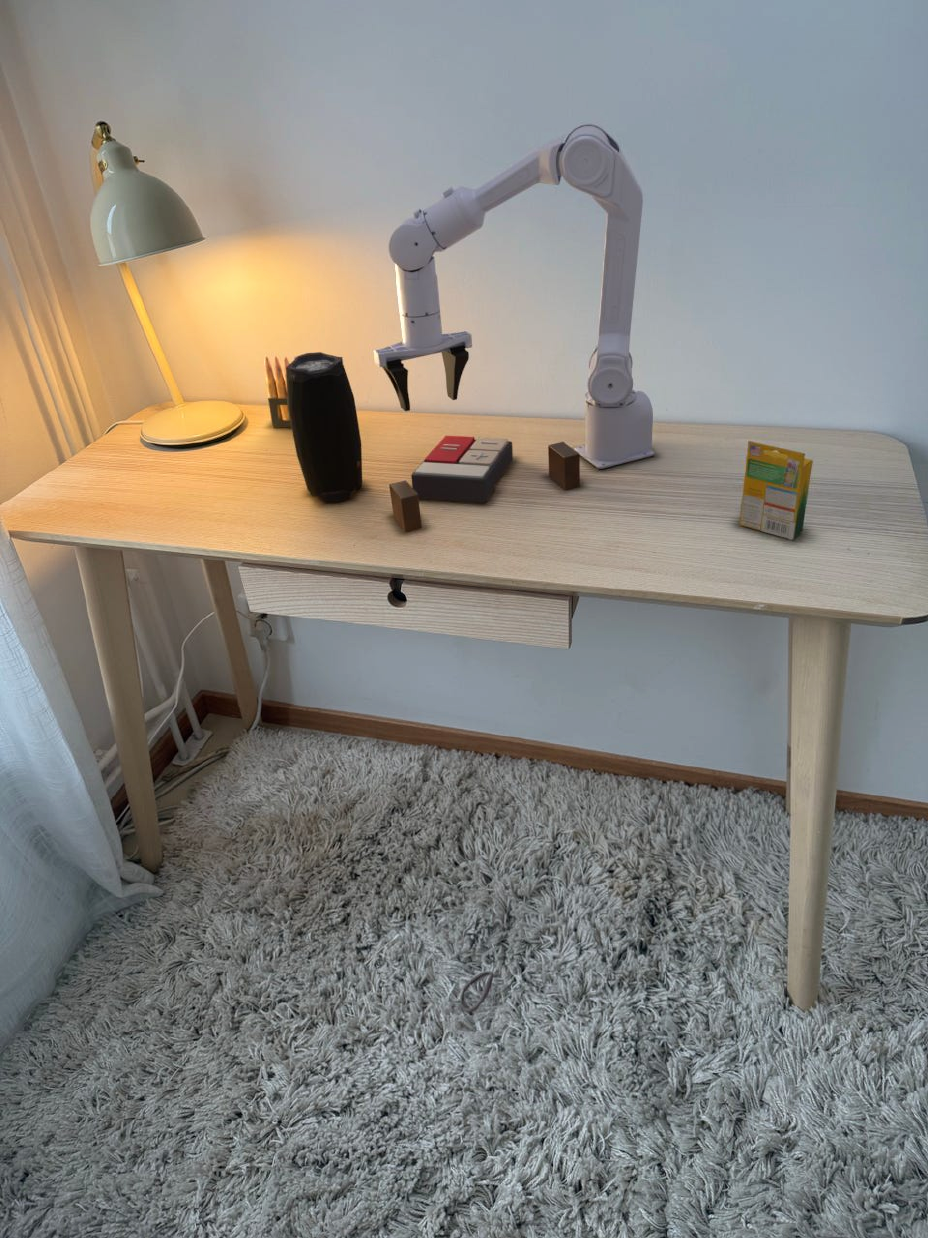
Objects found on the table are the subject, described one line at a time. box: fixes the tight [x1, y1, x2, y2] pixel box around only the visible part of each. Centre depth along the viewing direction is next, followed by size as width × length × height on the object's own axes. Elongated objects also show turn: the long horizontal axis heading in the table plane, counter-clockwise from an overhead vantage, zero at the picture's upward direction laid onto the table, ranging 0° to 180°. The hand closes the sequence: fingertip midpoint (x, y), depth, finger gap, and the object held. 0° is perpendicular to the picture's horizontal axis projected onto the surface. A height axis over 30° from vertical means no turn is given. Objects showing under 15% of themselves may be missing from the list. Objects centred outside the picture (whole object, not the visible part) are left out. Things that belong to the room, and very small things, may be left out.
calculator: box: [410, 435, 514, 504], centre depth 134 cm, size 11×4×15 cm
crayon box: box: [738, 440, 813, 541], centre depth 113 cm, size 7×3×12 cm, turn 49°
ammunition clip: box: [263, 355, 297, 428], centre depth 154 cm, size 11×2×12 cm, turn 75°
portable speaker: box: [286, 351, 363, 504], centre depth 129 cm, size 9×9×20 cm
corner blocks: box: [388, 441, 581, 533], centre depth 127 cm, size 26×5×5 cm, turn 112°
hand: (429, 403), depth 137 cm, fingers open, 7 cm apart
